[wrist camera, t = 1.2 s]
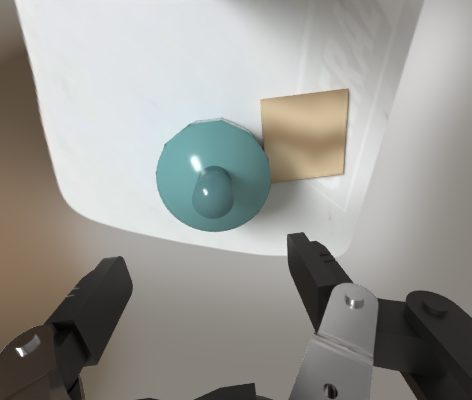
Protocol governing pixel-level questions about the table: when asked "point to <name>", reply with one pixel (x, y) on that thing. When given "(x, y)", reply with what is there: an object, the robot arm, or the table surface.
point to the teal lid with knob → (213, 175)
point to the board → (305, 134)
